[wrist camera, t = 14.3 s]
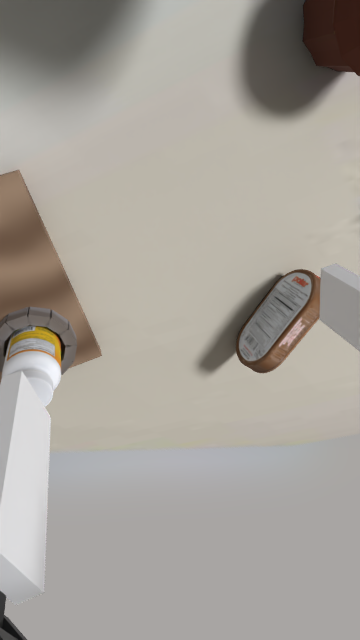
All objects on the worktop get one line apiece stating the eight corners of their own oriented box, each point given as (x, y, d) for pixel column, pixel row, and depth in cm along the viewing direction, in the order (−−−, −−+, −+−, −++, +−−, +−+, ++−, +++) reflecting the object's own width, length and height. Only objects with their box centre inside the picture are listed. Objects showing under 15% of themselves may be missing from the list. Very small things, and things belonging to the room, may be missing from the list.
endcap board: (-114, 208, 31) (-132, 215, 28) (18, 169, 32) (14, 173, 30) (7, 384, 42) (3, 402, 40) (100, 349, 44) (103, 364, 41)
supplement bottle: (48, 366, 41) (46, 424, 33) (1, 351, 39) (-14, 410, 31) (68, 330, 40) (71, 381, 32) (21, 312, 37) (11, 363, 29)
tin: (239, 352, 51) (267, 387, 44) (224, 344, 50) (251, 379, 43) (303, 268, 48) (345, 292, 41) (289, 257, 46) (330, 280, 39)
